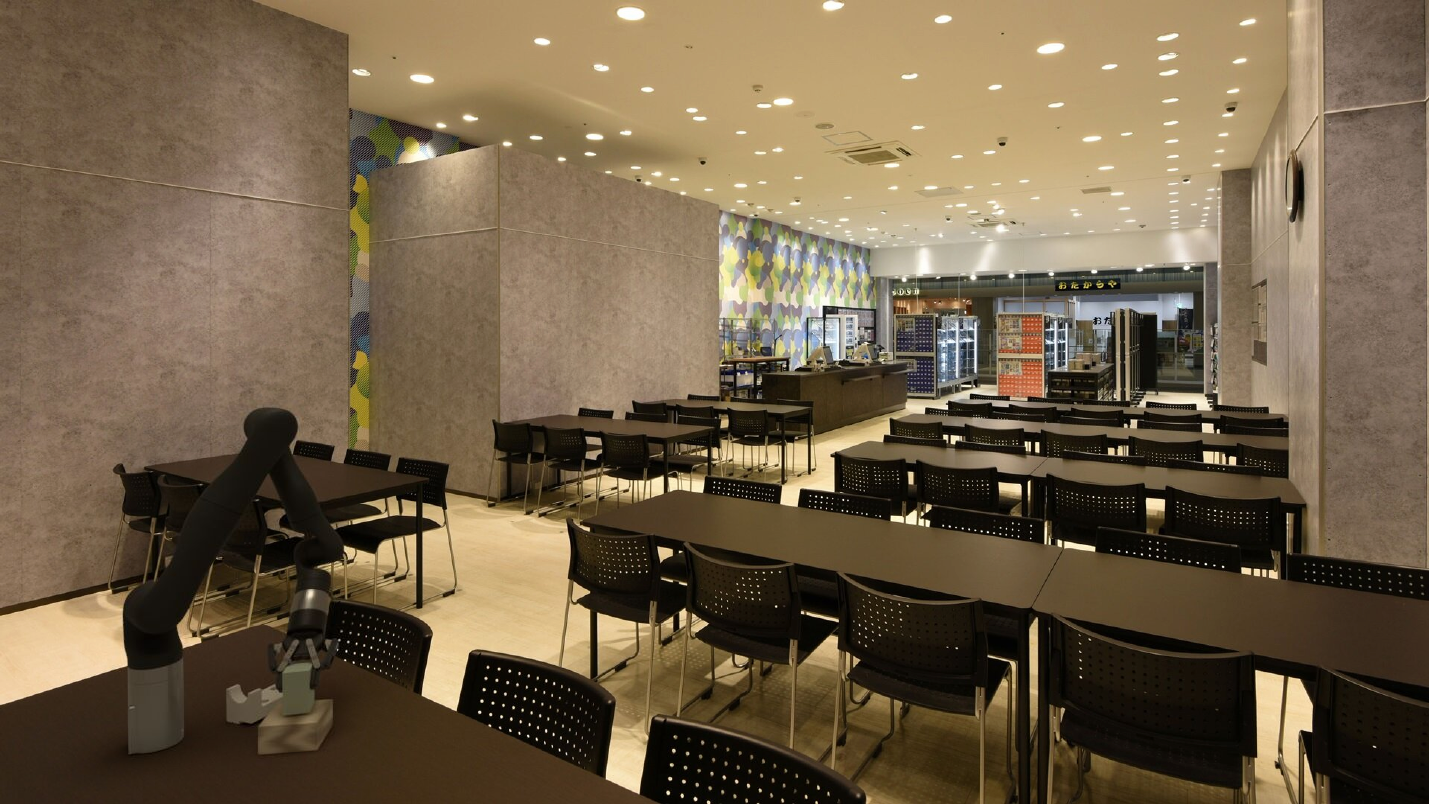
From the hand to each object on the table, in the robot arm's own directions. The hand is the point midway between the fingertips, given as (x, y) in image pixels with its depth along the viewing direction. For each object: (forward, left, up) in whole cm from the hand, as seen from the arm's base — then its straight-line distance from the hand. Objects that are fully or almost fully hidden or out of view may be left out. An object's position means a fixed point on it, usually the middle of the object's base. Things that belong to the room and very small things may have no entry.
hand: (296, 689), depth 157 cm
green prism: (+1, +2, -5) cm, 5 cm away
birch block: (0, +1, -11) cm, 12 cm away
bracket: (-4, +19, -12) cm, 23 cm away
